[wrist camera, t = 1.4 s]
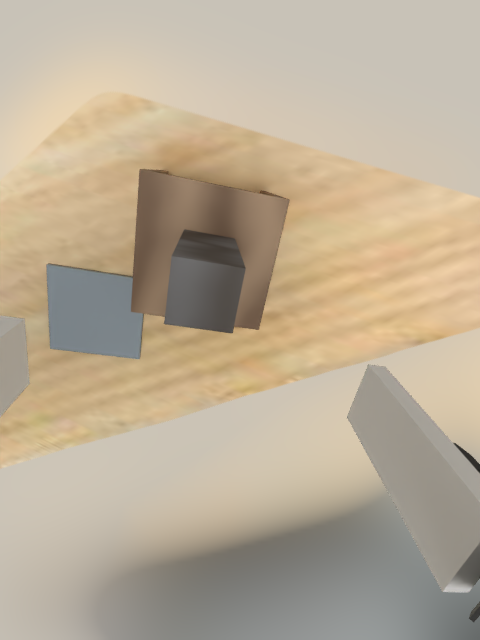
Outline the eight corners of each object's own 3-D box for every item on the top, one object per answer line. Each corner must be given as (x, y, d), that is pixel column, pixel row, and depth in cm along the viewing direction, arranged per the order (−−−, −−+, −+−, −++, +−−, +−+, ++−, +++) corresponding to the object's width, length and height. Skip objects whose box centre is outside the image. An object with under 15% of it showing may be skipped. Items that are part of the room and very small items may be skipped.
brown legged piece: (152, 274, 42) (97, 369, 22) (161, 170, 38) (101, 167, 17) (246, 289, 44) (276, 389, 24) (267, 191, 39) (327, 212, 19)
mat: (51, 346, 46) (50, 348, 45) (48, 263, 41) (46, 264, 40) (139, 357, 47) (139, 359, 47) (146, 278, 43) (145, 280, 42)
